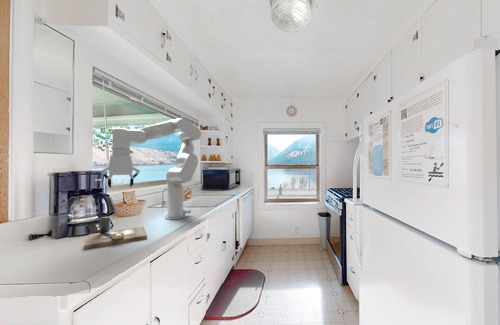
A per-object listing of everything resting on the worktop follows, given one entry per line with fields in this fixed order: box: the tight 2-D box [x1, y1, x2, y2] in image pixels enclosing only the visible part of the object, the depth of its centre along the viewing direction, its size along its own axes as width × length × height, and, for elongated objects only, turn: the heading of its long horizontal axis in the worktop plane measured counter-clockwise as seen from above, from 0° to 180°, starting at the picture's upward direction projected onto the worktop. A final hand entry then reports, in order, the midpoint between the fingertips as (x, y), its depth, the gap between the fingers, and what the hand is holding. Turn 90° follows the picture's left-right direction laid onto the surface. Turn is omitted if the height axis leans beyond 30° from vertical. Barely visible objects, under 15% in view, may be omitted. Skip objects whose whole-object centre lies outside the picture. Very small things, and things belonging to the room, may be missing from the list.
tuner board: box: [83, 226, 148, 250], centre depth 92 cm, size 22×16×2 cm
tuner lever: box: [99, 216, 124, 240], centre depth 90 cm, size 16×4×7 cm, turn 58°
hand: (120, 186), depth 103 cm, fingers open, 8 cm apart
